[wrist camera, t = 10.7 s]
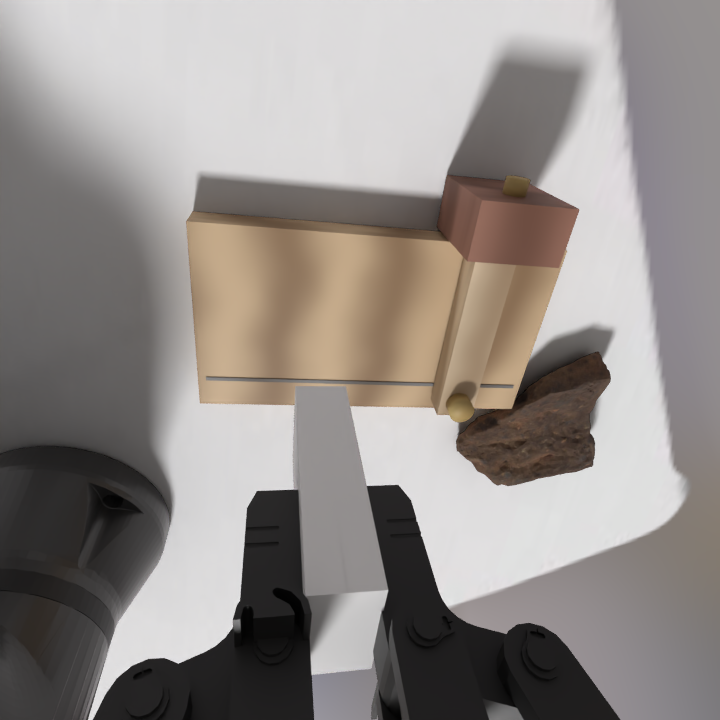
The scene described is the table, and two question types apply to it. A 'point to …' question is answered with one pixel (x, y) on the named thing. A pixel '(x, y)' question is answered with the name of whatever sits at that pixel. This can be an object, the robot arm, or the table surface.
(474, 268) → the block
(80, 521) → the robot arm
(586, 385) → the rock
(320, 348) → the board
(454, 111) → the table surface
